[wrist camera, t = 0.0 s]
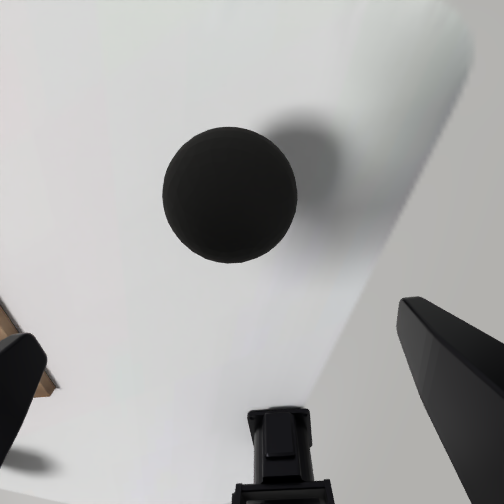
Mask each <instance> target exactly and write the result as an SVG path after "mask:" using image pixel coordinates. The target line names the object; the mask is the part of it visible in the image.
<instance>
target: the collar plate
mask: <svg viewBox="0 0 504 504" xmlns="http://www.w3.org/2000/svg"><path fill="white" fill-rule="evenodd" d="M13 334H18V331H17V330H16V328H15V327H14V325H13V324H12V322H11V321H10V319H9V318H8V316H7V315H6V313H5V312H4V310H3V309H2V307H1V306H0V341H1V340H3V339H5V338H6V337H8V336H10V335H13ZM55 388H56V387H55V386H54V384H53V383H52V381H51V380H50V378H49V377H48V375H47V374H46V372H45V371H44V372H43V375H42V377H41V380H40V382H39V385H38V387H37V390H36V392H35V395H34V397H33V398H36V397H49V396H51V394H52V393H53V391H54V389H55Z"/></svg>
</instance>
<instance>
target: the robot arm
mask: <svg viewBox="0 0 504 504" xmlns="http://www.w3.org/2000/svg"><path fill="white" fill-rule="evenodd" d="M396 327H397V334H398V337H399V339H400V343H401V345H402V348H403V351H404V353H405V356H406V359H407V362H408V365H409V368H410V370H411V373H412V376H413V379H414V382H415V384H416V387H417V389H418V392H419V395H420V398H421V400H422V402H423V404H424V406H425V409H426V410H427V413H428V415H429V417H430V419H431V421H432V423H433V425H434V427H435V429H436V431H437V433H438V435H439V438H440V440H441V442H442V444H443V446H444V448H445V449H446V452H447V454H448V456H449V458H450V460H451V462H452V464H453V466H454V468H455V470H456V472H457V474H458V477H459V479H460V481H461V483H462V485H463V487H464V489H465V491H466V493H467V495H468V497H469V499H470V501H471V503H472V504H504V344H503V343H501V342H500V341H498V340H496V339H495V338H493V337H491V336H489V335H488V334H486V333H484V332H482V331H481V330H479V329H477V328H475V327H473V326H472V325H470V324H468V323H466V322H465V321H463V320H461V319H459V318H457V317H456V316H454V315H452V314H451V313H449V312H447V311H445V310H443V309H441V308H440V307H438V306H436V305H434V304H433V303H431V302H429V301H428V300H426V299H424V298H422V297H406V298H402V299H401V300H400V302H399V308H398V316H397V325H396ZM46 365H47V355H46V353H45V352H44V350H43V349H42V347H41V346H40V344H39V343H38V341H37V340H36V338H35V337H34V335H32V334H31V333H18V334H13V335H10V336H8V337H6V338H5V339H3V340H1V341H0V468H1V466H2V464H3V462H4V460H5V458H6V456H7V454H8V452H9V450H10V448H11V446H12V444H13V442H14V440H15V438H16V436H17V434H18V432H19V430H20V428H21V426H22V424H23V421H24V419H25V417H26V414H27V412H28V409H29V407H30V404H31V402H32V400H33V397H34V395H35V392H36V390H37V387H38V385H39V382H40V380H41V377H42V375H43V372H44V370H45V367H46ZM247 419H248V424H249V428H250V432H251V436H252V441H253V445H254V484H242V483H238V484H236V489H235V492H234V493H233V494H232V504H335V503H334V498H333V493H332V488H331V483H330V479H324V481H314V476H313V469H312V462H311V454H310V447H311V446H312V436H311V422H310V411H309V410H308V409H289V410H274V411H259V412H249V413H248V415H247Z"/></svg>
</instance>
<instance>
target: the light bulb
mask: <svg viewBox="0 0 504 504" xmlns="http://www.w3.org/2000/svg"><path fill="white" fill-rule="evenodd" d="M162 198H163V206H164V211H165V215H166V218H167V220H168V223H169V225H170V226H171V228H172V230H173V231H174V233H175V234H176V236H177V237H178V238H179V239H180V241H181V242H182V243H183V244H184V245H186V246H187V247H188V248H189V249H190V250H191V251H192V252H194V253H196V254H198V255H200V256H202V257H203V258H205V259H208V260H212V261H215V262H220V263H242V262H246V261H249V260H252V259H255V258H258V257H260V256H262V255H263V254H265V253H267V252H269V251H270V250H271V249H272V248H274V247H275V246H276V245H277V244H278V243H279V242H280V241H281V240H282V238H283V237H284V236H285V234H286V233H287V231H288V229H289V227H290V225H291V223H292V220H293V218H294V215H295V212H296V205H297V188H296V182H295V177H294V174H293V170H292V168H291V166H290V164H289V162H288V160H287V159H286V157H285V156H284V154H283V153H282V152H281V151H280V149H279V148H278V147H277V146H276V145H274V144H273V143H272V142H271V141H270V140H268V139H267V138H265V137H264V136H262V135H260V134H258V133H256V132H253V131H250V130H247V129H243V128H238V127H220V128H214V129H210V130H207V131H205V132H202V133H200V134H198V135H196V136H194V137H193V138H192V139H190V140H189V141H188V142H187V143H185V144H184V145H183V146H182V147H181V148H180V149H179V150H178V152H177V153H176V155H175V156H174V157H173V159H172V160H171V162H170V164H169V166H168V168H167V171H166V174H165V177H164V184H163V194H162Z"/></svg>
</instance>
